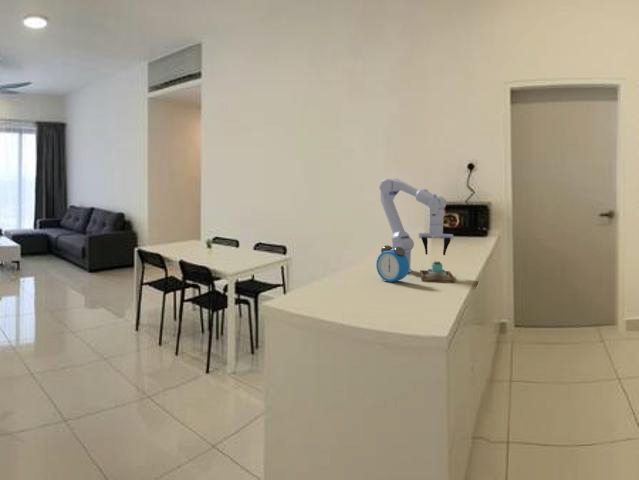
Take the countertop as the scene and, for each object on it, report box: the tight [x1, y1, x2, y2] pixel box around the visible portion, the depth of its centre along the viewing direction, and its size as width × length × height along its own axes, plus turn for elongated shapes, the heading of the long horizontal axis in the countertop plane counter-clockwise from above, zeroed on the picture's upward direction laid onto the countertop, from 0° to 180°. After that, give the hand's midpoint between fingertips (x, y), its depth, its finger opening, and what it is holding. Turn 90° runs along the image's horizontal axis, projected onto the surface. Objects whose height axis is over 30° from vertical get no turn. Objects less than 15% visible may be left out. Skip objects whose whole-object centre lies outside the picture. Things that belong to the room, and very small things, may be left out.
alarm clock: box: [376, 244, 409, 284], centre depth 191 cm, size 13×6×15 cm, turn 44°
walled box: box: [419, 268, 455, 283], centre depth 197 cm, size 13×13×4 cm
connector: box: [431, 261, 443, 272], centre depth 195 cm, size 4×4×7 cm
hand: (435, 254), depth 202 cm, fingers open, 7 cm apart
